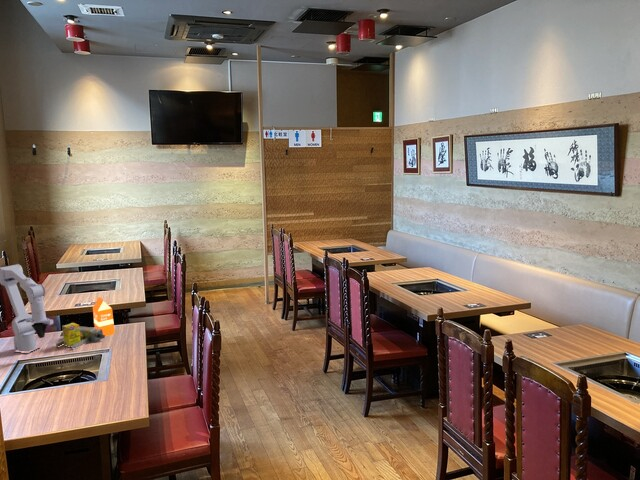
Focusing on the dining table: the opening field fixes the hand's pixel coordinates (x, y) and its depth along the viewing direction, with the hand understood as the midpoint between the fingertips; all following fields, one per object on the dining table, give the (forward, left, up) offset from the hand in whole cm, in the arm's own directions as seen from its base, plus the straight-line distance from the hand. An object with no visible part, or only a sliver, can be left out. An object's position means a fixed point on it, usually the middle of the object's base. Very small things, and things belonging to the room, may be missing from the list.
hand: (41, 337), depth 239 cm
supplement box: (+2, +16, -11) cm, 19 cm away
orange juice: (+7, +34, -11) cm, 36 cm away
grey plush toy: (+3, +19, -10) cm, 22 cm away
